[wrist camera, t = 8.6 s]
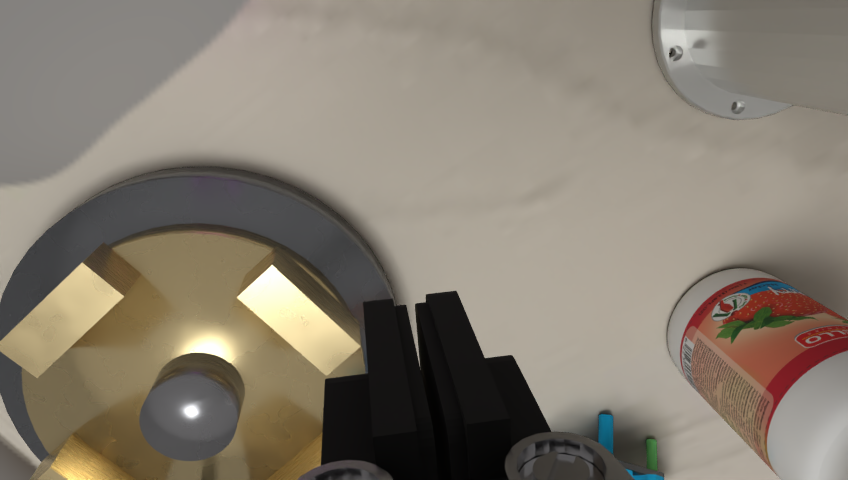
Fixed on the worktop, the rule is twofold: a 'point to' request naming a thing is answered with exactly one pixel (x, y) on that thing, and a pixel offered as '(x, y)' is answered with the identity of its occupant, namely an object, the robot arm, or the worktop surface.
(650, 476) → the gear
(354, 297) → the cap flange
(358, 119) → the worktop surface
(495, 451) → the robot arm
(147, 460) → the four-jaw chuck
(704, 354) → the fruit juice
